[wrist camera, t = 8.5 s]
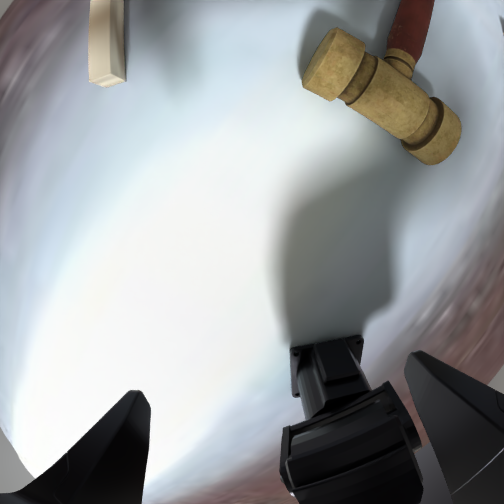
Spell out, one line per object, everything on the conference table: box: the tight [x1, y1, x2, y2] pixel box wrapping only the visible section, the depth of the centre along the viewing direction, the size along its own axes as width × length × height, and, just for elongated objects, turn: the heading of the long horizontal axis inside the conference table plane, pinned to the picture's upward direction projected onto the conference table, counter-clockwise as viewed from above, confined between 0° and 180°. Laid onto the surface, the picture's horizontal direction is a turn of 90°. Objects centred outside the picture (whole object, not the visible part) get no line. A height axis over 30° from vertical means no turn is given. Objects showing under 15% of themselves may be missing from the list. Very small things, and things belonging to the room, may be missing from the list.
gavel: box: [302, 0, 461, 165], centre depth 12 cm, size 21×5×10 cm
